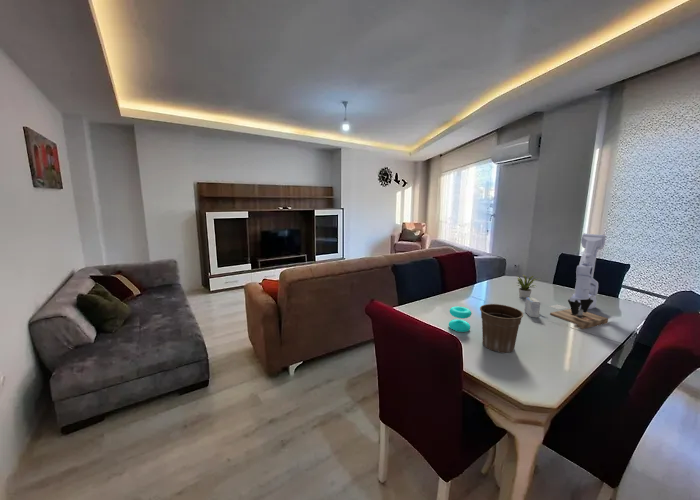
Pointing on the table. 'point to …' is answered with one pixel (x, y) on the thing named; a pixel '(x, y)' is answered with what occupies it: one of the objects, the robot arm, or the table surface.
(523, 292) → the house plant
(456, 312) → the donuts
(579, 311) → the steel peg
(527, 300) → the medicine box
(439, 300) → the table surface
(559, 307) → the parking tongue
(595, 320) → the hole plate
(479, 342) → the table surface
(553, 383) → the table surface
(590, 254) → the robot arm
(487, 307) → the plant pot
